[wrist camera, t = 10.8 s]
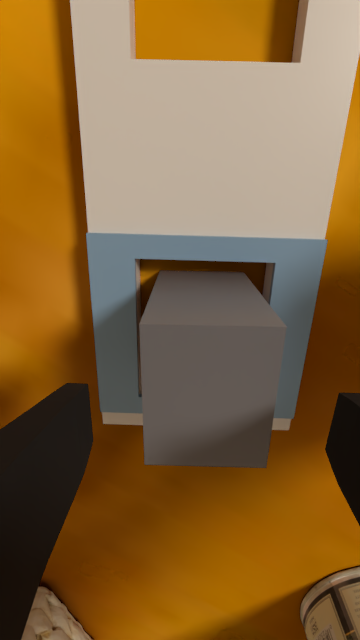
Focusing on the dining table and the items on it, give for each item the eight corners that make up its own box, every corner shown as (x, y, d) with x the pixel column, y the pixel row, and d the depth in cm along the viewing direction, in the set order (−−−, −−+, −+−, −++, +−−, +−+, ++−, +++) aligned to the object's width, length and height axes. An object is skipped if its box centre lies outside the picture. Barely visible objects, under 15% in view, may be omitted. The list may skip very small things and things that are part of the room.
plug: (243, 271, 15) (286, 327, 8) (235, 363, 17) (266, 467, 10) (160, 270, 15) (139, 324, 8) (161, 362, 17) (144, 464, 10)
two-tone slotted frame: (409, -309, 9) (450, -403, 7) (282, 415, 18) (290, 434, 16) (58, -312, 9) (34, -406, 8) (108, 409, 18) (101, 427, 17)
